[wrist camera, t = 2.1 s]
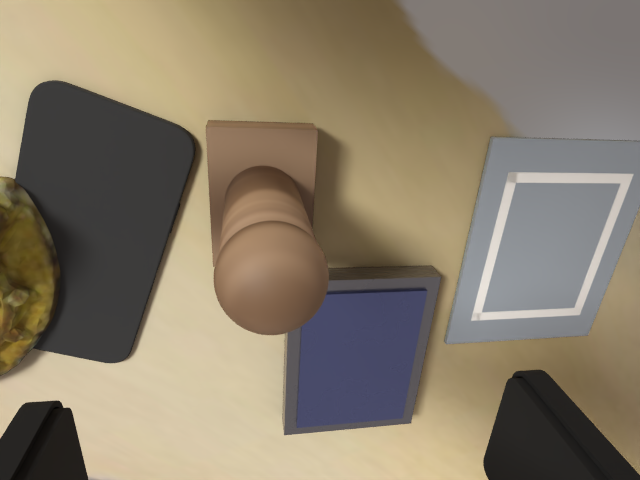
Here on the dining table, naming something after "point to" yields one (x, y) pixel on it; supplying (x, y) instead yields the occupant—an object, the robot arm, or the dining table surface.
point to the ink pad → (360, 350)
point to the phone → (101, 210)
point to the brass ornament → (24, 275)
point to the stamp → (265, 223)
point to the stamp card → (544, 237)
